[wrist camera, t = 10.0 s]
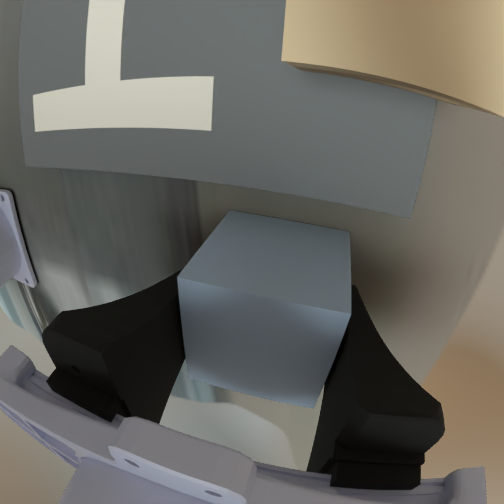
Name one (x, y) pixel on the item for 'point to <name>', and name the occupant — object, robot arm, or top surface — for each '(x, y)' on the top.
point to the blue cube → (266, 306)
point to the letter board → (210, 103)
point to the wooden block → (404, 46)
